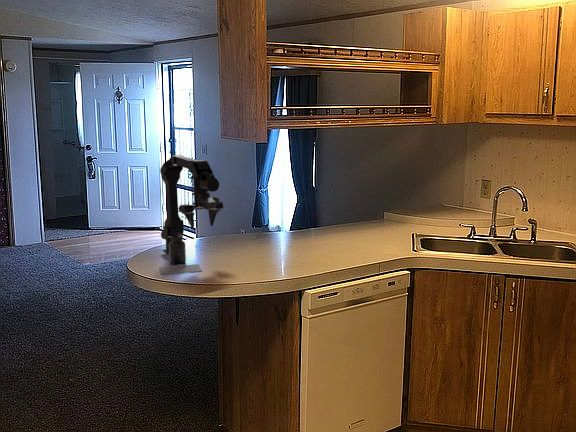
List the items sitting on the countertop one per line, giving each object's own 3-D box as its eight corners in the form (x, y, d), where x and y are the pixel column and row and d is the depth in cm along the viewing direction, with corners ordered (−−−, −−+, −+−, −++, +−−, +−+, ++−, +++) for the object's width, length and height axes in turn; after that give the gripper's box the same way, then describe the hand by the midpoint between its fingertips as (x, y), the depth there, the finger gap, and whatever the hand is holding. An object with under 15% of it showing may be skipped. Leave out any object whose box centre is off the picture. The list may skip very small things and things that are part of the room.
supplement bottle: (166, 263, 266) (165, 235, 264) (179, 260, 270) (178, 233, 268) (175, 266, 261) (174, 237, 259) (189, 263, 266) (188, 235, 263)
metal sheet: (159, 267, 258) (159, 266, 258) (198, 264, 262) (198, 264, 262) (161, 274, 248) (161, 273, 248) (202, 271, 252) (202, 270, 252)
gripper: (190, 193, 250) (192, 232, 252) (230, 189, 261) (231, 226, 263) (177, 191, 258) (179, 229, 260) (215, 188, 270) (217, 223, 272)
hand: (202, 227), depth 264 cm, fingers open, 9 cm apart
